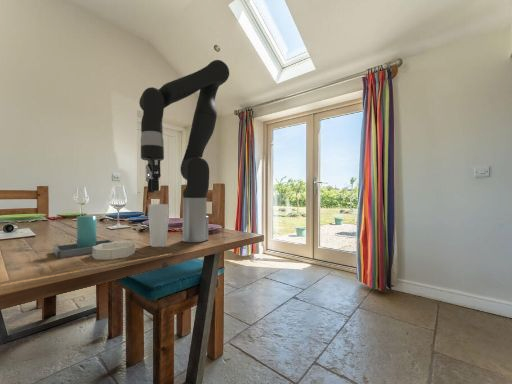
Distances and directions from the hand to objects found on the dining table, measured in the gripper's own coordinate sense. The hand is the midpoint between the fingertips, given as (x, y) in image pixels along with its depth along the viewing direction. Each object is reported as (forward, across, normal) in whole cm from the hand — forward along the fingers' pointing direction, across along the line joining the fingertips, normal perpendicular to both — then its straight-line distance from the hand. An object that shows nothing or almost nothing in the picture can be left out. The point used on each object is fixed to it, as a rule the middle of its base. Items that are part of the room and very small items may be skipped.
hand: (153, 191), depth 85 cm
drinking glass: (+20, +1, -2) cm, 20 cm away
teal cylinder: (+18, +4, +19) cm, 27 cm away
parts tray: (+19, +4, +19) cm, 27 cm away
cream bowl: (+20, -6, +12) cm, 24 cm away
